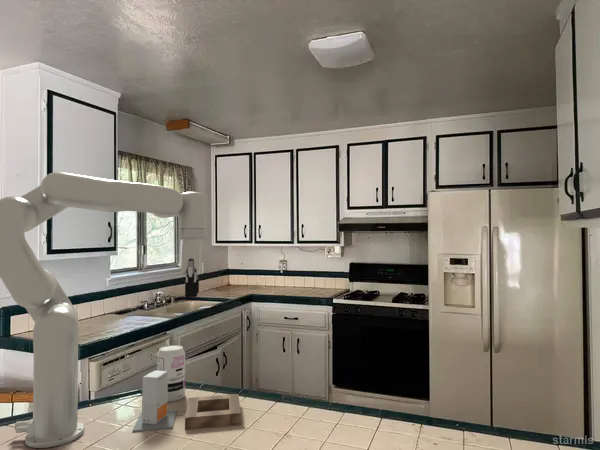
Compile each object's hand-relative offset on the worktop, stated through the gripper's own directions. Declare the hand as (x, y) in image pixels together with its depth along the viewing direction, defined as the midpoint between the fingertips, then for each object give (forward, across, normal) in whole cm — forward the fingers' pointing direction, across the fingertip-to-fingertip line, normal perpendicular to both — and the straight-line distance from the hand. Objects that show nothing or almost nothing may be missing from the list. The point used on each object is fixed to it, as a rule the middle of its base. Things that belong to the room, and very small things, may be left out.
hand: (192, 294), depth 120 cm
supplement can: (+32, -11, -7) cm, 35 cm away
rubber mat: (+32, +6, -9) cm, 34 cm away
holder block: (+32, +6, +6) cm, 33 cm away
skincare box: (+32, +6, -9) cm, 34 cm away
